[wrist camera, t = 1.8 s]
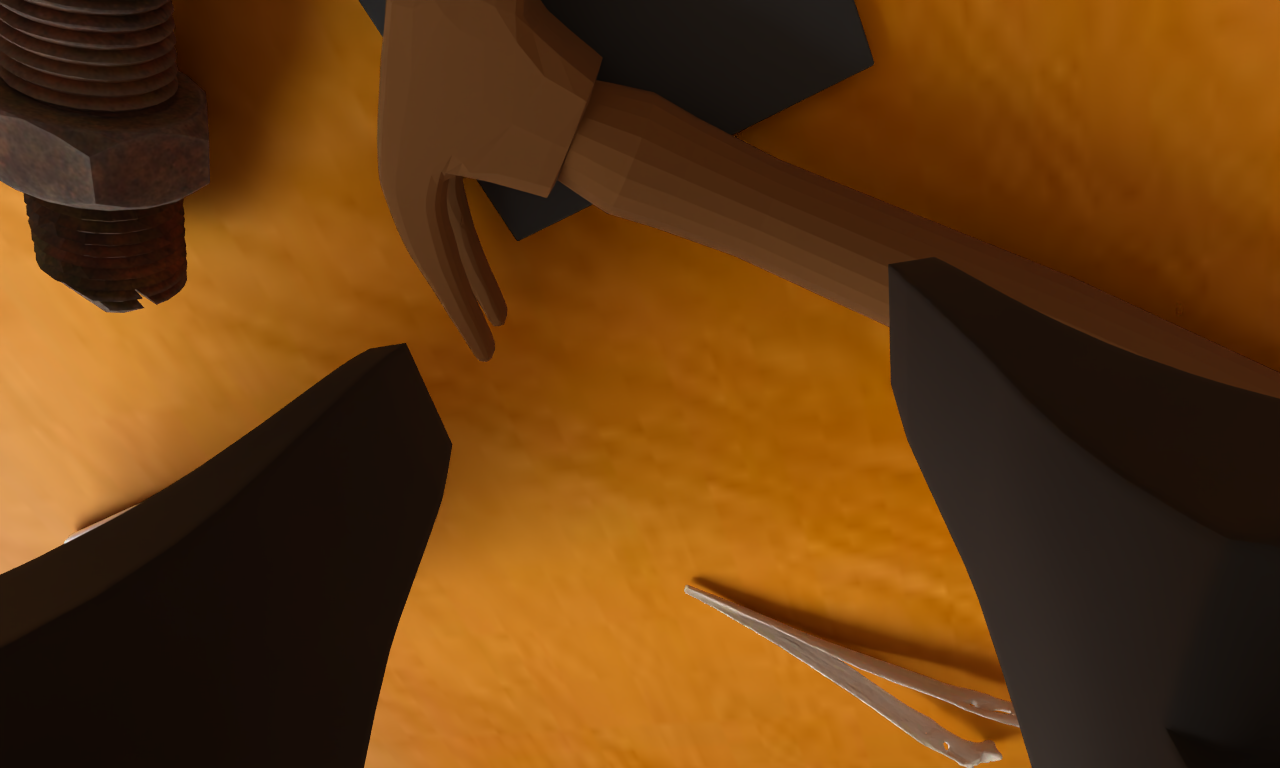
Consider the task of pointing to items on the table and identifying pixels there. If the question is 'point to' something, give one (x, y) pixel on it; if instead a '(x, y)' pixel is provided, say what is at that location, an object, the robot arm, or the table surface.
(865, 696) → the tweezers
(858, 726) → the table surface
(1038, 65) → the table surface
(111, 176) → the bolt
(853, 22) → the mat
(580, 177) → the hammer
